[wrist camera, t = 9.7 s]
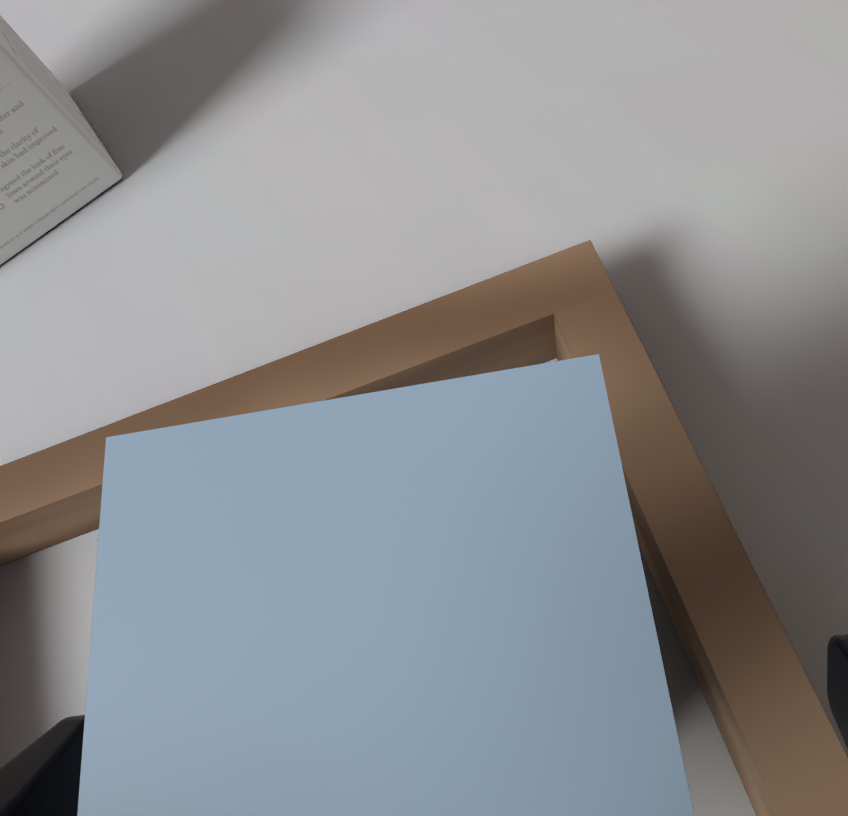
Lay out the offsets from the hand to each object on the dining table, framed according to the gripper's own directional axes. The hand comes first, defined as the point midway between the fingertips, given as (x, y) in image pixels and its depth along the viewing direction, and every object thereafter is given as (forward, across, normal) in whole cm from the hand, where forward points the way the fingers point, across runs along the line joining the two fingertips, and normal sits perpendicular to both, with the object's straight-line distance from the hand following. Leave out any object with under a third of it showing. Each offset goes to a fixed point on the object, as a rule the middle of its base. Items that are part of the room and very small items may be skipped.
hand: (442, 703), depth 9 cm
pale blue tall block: (+6, 0, +6) cm, 8 cm away
